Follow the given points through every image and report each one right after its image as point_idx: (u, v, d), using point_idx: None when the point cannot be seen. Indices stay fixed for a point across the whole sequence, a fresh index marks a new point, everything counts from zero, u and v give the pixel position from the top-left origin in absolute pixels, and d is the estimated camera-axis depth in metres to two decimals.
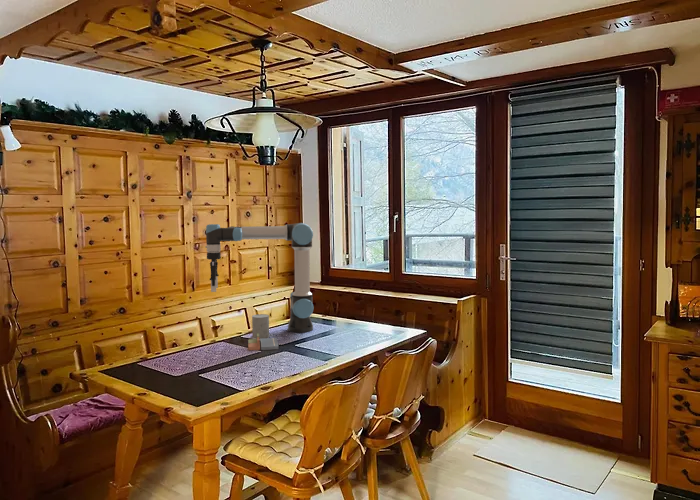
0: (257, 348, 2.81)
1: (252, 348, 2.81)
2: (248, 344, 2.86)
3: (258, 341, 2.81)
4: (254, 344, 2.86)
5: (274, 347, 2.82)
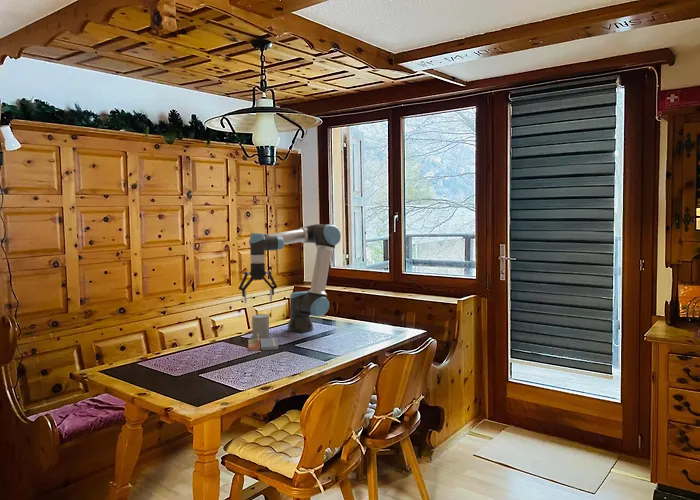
0: (257, 348, 2.81)
1: (252, 348, 2.81)
2: (248, 344, 2.86)
3: (258, 341, 2.81)
4: (254, 344, 2.86)
5: (274, 347, 2.82)
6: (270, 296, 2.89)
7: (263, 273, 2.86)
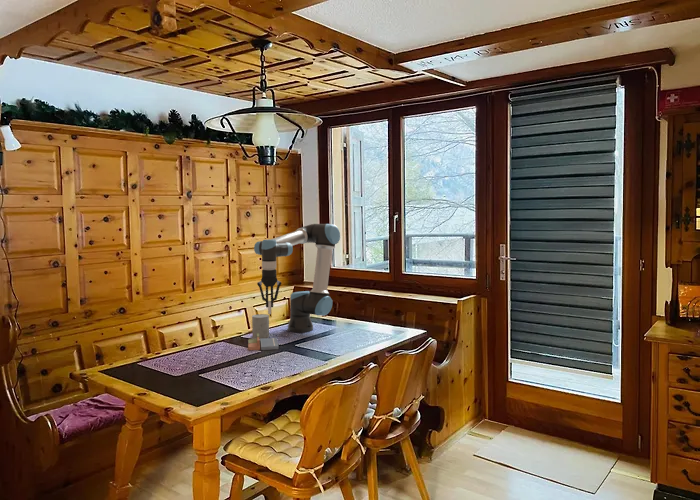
0: (257, 348, 2.81)
1: (252, 348, 2.81)
2: (248, 344, 2.86)
3: (258, 341, 2.81)
4: (254, 344, 2.86)
5: (274, 347, 2.82)
6: None
7: (274, 280, 2.83)
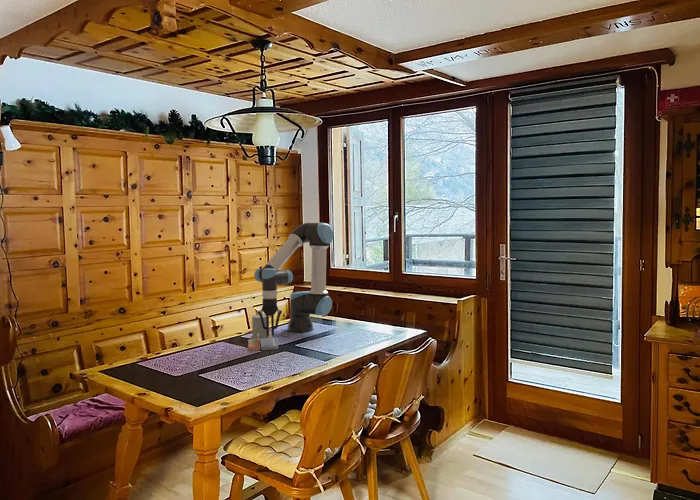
0: (257, 348, 2.81)
1: (252, 348, 2.81)
2: (248, 344, 2.86)
3: (258, 341, 2.81)
4: (254, 344, 2.86)
5: (274, 347, 2.82)
6: None
7: (275, 308, 2.84)
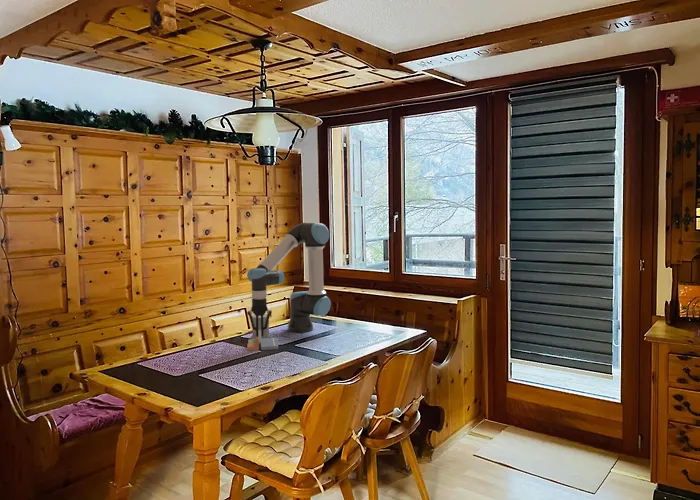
0: (256, 348, 2.81)
1: (251, 348, 2.81)
2: (247, 344, 2.86)
3: (257, 341, 2.81)
4: (253, 344, 2.86)
5: (274, 347, 2.82)
6: None
7: (264, 308, 2.83)
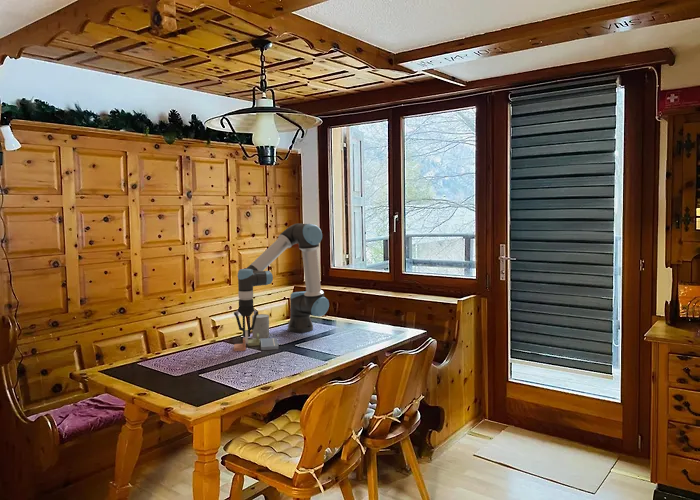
0: (243, 349, 2.80)
1: (238, 349, 2.79)
2: (234, 345, 2.85)
3: (243, 342, 2.80)
4: (240, 345, 2.85)
5: (274, 347, 2.82)
6: None
7: (251, 309, 2.82)
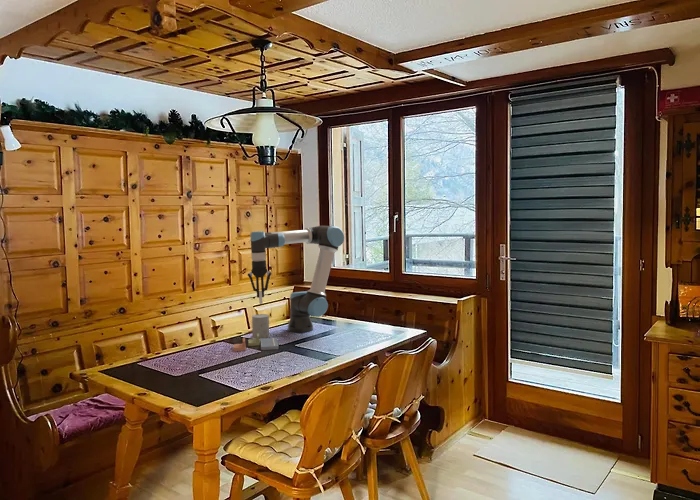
0: (242, 349, 2.80)
1: (237, 349, 2.79)
2: (234, 345, 2.85)
3: (243, 342, 2.80)
4: (240, 345, 2.85)
5: (274, 347, 2.82)
6: None
7: (264, 270, 2.90)
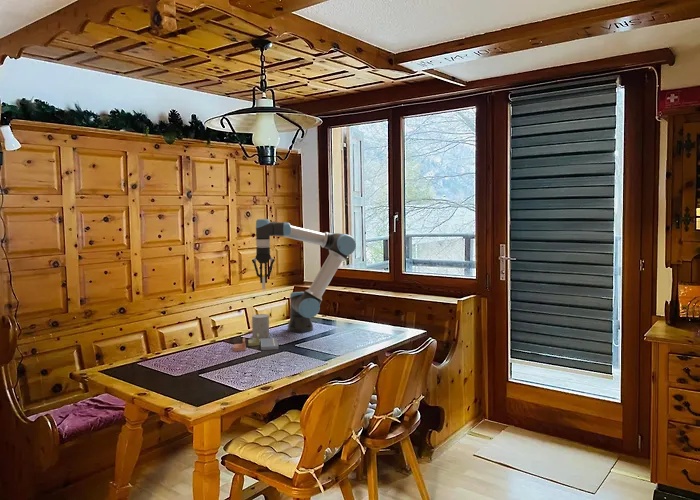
0: (242, 349, 2.80)
1: (237, 349, 2.79)
2: (234, 345, 2.85)
3: (243, 342, 2.80)
4: (240, 345, 2.85)
5: (274, 347, 2.82)
6: None
7: (268, 257, 3.01)
